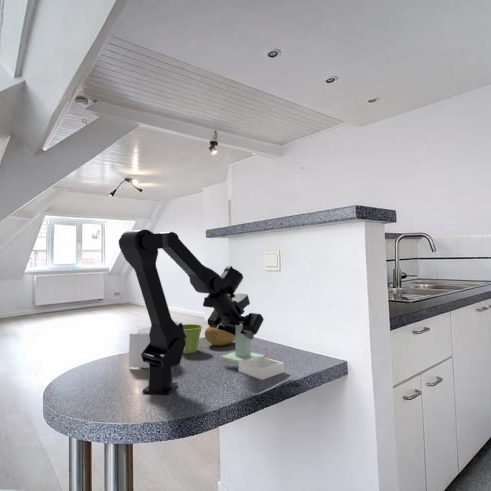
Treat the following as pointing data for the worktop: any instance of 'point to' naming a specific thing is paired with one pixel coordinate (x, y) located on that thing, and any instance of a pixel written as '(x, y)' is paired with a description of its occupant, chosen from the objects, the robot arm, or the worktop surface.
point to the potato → (218, 336)
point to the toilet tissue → (139, 348)
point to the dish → (261, 367)
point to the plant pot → (191, 337)
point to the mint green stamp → (241, 348)
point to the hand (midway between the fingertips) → (245, 336)
